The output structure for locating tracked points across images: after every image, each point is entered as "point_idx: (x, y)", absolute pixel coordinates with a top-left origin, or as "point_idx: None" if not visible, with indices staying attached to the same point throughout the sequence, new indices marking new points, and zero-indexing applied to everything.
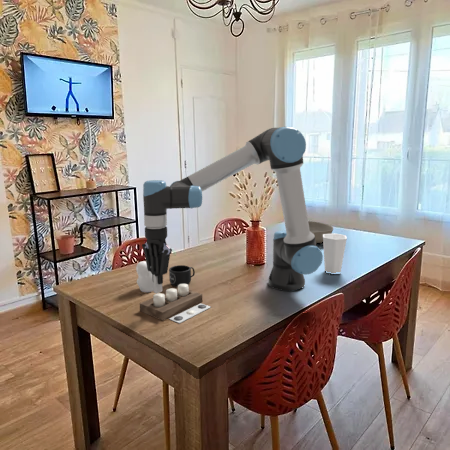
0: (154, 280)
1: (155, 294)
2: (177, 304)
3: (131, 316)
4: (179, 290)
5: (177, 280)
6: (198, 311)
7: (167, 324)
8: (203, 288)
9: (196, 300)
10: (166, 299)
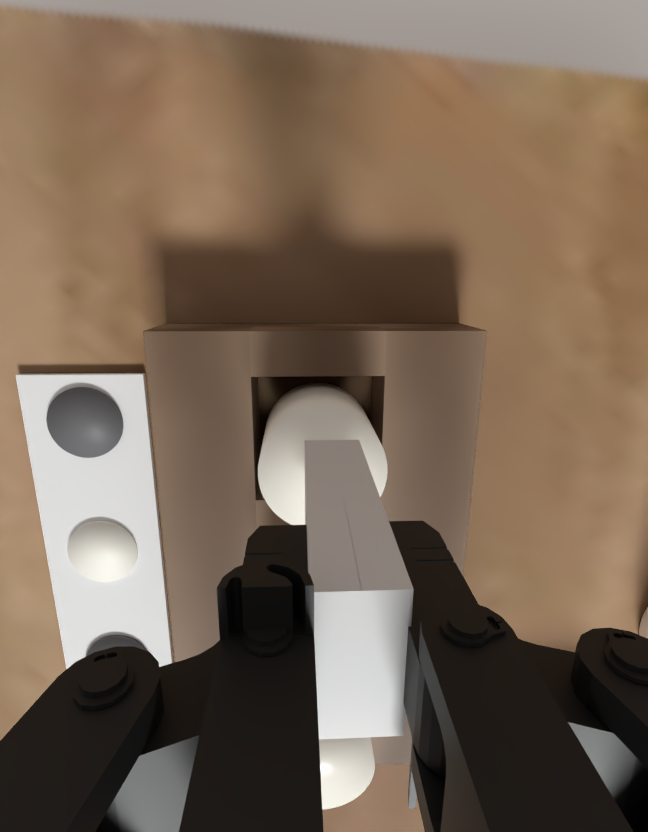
0: (355, 524)
1: (379, 469)
2: (179, 531)
3: (444, 205)
4: None
5: None
6: (74, 595)
7: (81, 300)
8: None
9: None
10: None
